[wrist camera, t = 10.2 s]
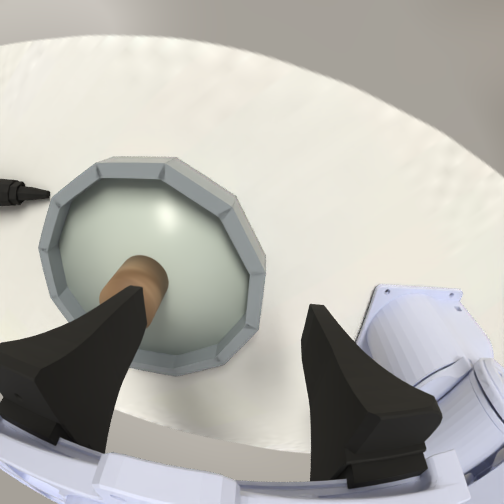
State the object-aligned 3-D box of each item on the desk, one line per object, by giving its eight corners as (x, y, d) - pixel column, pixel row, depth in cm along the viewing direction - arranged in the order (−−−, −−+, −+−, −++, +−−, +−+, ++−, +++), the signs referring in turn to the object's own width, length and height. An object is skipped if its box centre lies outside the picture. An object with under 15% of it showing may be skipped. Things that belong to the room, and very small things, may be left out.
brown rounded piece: (174, 266, 21) (157, 296, 18) (162, 306, 23) (147, 339, 19) (125, 247, 21) (101, 273, 17) (118, 289, 23) (97, 318, 19)
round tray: (276, 164, 19) (278, 170, 17) (251, 365, 27) (250, 385, 24) (46, 159, 19) (27, 166, 16) (79, 336, 26) (69, 352, 24)
